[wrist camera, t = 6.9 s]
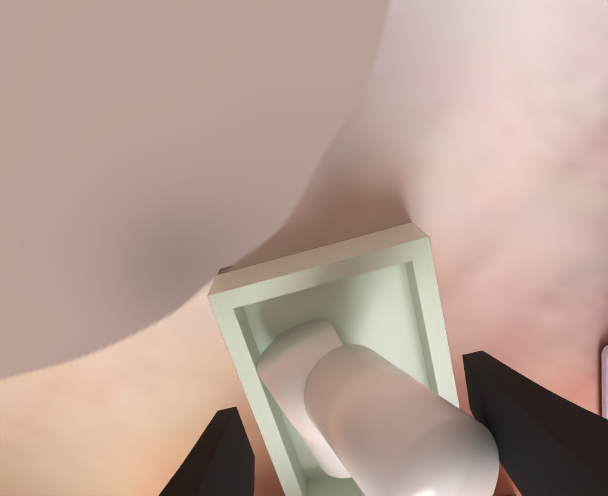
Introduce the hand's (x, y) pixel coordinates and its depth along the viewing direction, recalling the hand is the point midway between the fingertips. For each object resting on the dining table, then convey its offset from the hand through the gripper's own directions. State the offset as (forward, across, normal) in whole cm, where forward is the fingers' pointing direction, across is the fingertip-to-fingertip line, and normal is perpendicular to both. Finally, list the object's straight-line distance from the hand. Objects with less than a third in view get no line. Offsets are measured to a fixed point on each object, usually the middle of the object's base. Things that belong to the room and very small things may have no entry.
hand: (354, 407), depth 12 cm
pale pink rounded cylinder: (+4, +1, +5) cm, 7 cm away
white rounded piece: (+3, 0, +2) cm, 3 cm away
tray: (+7, 0, +3) cm, 8 cm away
